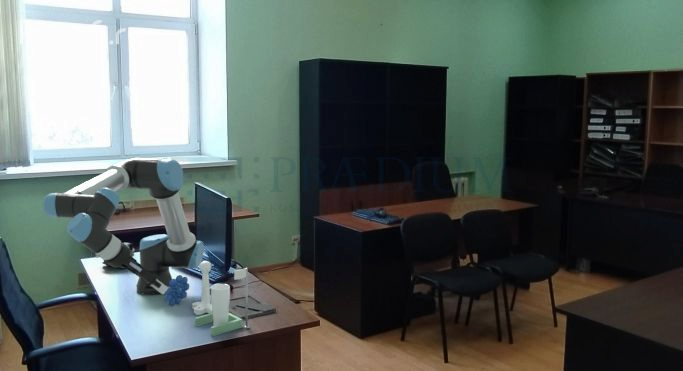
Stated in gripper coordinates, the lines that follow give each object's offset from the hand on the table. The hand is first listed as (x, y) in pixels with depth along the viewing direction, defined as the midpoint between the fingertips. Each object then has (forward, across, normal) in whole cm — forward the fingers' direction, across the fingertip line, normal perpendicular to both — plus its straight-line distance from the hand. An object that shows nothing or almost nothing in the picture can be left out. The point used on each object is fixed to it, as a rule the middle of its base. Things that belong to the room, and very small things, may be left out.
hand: (164, 290), depth 193 cm
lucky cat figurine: (+30, -94, +2) cm, 98 cm away
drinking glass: (+28, 0, +2) cm, 28 cm away
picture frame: (+41, -10, +14) cm, 44 cm away
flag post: (+31, +7, +5) cm, 32 cm away
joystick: (+30, -16, +3) cm, 34 cm away
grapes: (+27, -30, 0) cm, 40 cm away
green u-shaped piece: (+27, 0, +1) cm, 27 cm away
